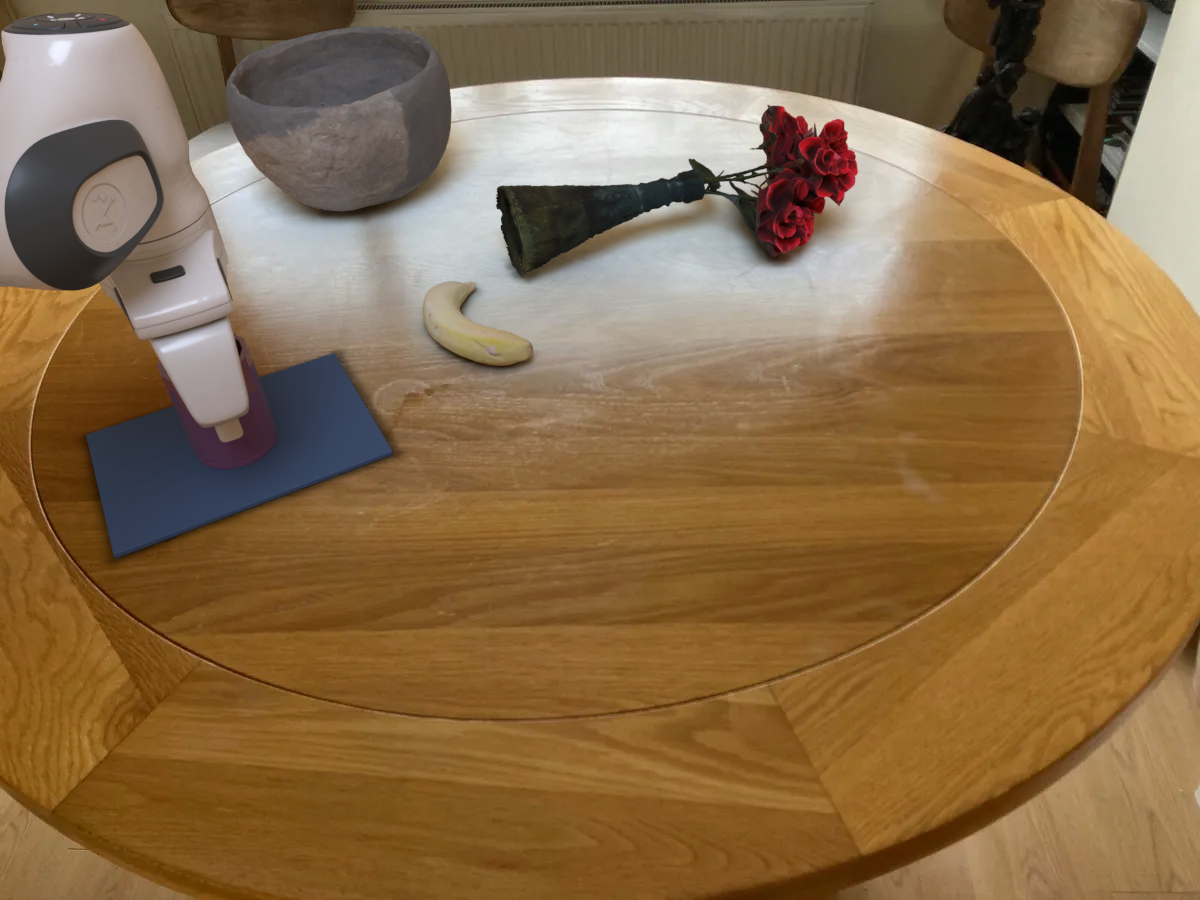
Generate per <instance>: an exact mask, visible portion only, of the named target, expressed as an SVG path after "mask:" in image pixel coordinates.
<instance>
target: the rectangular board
mask: <svg viewBox="0 0 1200 900" xmlns="http://www.w3.org/2000/svg"><path fill="white" fill-rule="evenodd" d="M259 379H260V382H261V385H262V388H263V390H264V393H265V396H266V399H267V402H268V405H269V407H270V410H271V413H272V416H273V419H274V421H275V424H276V428H277V432H278V436H277V440H276V443H275V445H274V446H273V448H272V449H271V450H270V451H269V452H268V453H267V454H266V455H265V456H263V457H262V458H260V459H259V460H257V461H255V462H253V463H251V464H249V465H246V466H243V467H239V468H234V469H214V468H210V467H208V466H206V465H204V464H203V463H201V462H200V461H199V460H198V458H197V456H196V455H195V452H194V450H193V448H192V446H191V443H190V441H189V439H188V436H187V434H186V432H185V430H184V427H183V425H182V423H181V421H180V418H179V416H178V414H177V412H176V409H175V407H174V405H172V406H169V407H165V408H163V409H160V410H157V411H153V412H150V413H148V414H144V415H142V416H139V417H136V418H133V419H130V420H126V421H124V422H120V423H118V424H114V425H111V426H107V427H106V428H102V429H99V430H96V431H93V432H90V433H87V434H85V437H86V441H87V446H88V449H89V454H90V458H91V463H92V467H93V472H94V476H95V480H96V485H97V489H98V490H97V491H98V494H99V497H100V502H101V507H102V511H103V515H104V520H105V524H106V529H107V532H108V537H109V541H110V546H111V550H112V555H113V557H114V559H118V558H121V557H124V556H127V555H130V554H132V553H135V552H138V551H140V550H143V549H146V548H148V547H150V546H153V545H156V544H159V543H162V542H164V541H167V540H169V539H173V538H175V537H178V536H180V535H184V534H185V533H188V532H191V531H194V530H197V529H199V528H201V527H204V526H206V525H210V524H213V523H215V522H217V521H220V520H222V519H225V518H228V517H231V516H233V515H236V514H238V513H242V512H244V511H247V510H249V509H250V510H251V509H252V508H255V507H257V506H260V505H263V504H266V503H268V502H272V501H273V500H276V499H278V498H279V499H280V498H282V497H284V496H287V495H290V494H292V493H294V492H297V491H300V490H303V489H305V488H308V487H311V486H313V485H316V484H318V483H319V484H320V483H321V482H324V481H327V480H329V479H331V478H334V477H337V476H340V475H343V474H346V473H348V472H352V471H353V470H354V471H355V470H356V469H358V468H359V469H360V468H362V467H364V466H367V465H369V464H372V463H375V462H378V461H380V460H382V459H386V458H388V457H390V456H394V450H393V449H392V448H391V446H390V444H389V442H388V441H387V439H386V437H385V436H384V435H383V434H384V433H382V431H381V429H380V427H379V426H378V424H377V422H376V420H375V419H374V418H373V416H372V414H371V412H370V410H369V408H368V407H367V404H366V403H365V402H364V401H363V399H362V397H361V395H360V393H359V392H358V390H357V389H356V387H355V385H354V383H353V382H352V380H351V379H350V376H349V375H348V374H347V371H346V370H345V368H344V366H343V365H342V363H341V362H340V360H339V358H338V357H337V355H336V353H335V352H332V353H329V354H326V355H323V356H320V357H317V358H314V359H311V360H309V361H305V362H302V363H299V364H296V365H293V366H289V367H286V368H284V369H281V370H278V371H275V372H272V373H268V374H266V375H263V376H259Z"/></svg>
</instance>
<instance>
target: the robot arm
mask: <svg viewBox="0 0 1200 900" xmlns="http://www.w3.org/2000/svg"><path fill="white" fill-rule="evenodd" d="M0 36H1V44H2V49H3V53H4V58H5V61H4V67H3V72H2V75H1V78H0V288H19V289H25V290H26V289H28V290H38V291H53V292H65V291H67V292H68V291H69V292H72V291H73V292H74V291H75V292H76V291H81V290H86V289H89V288H91V287H93V286H96V285H98V284H99V286H100V288H101V290H102V292H103V293H104V295H105V296H107V297H108V298H110V299H111V300H112V301H113V302H114V303H115V304H116V305H117V306H118V307H119V308H120V309H121V310H122V311H123V313H124V315H125V316H126V318H127V320H128V321H129V324H130V326H131V328H132V330H133V331H134V333H135V334H136V337H137V339H139V340H140V341H147V340H148V342H149V344H150V346H151V348H152V349H153V351H154V353H155V355H156V356H157V358H158V361H159V360H160V362H161V364H162V366H163V367H164V369H165V371H166V373H167V374H168V376H169V378H170V380H171V381H172V383H173V385H174V387H175V388H176V390H177V392H178V394H179V395H180V397H181V399H182V400H183V402H184V404H185V406H186V407H187V409H188V411H189V412H190V414H191V415H192V417H193V418H194V420H195V421H196V422H197V423H198V424H199V425H200V426H201V427H203V428H209V427H213V426H214V427H215V430H216V432H217V434H218V437H219V439H220V441H222V442H229V441H232V440H235V439H238V438H240V437H242V435H243V430H242V427H241V424H240V422H239V419H238V418H240V417H242V416H244V415H246V414H247V413H248V411H249V398H248V392H247V388H246V383H245V379H244V375H243V371H242V366H241V362H240V358H239V354H238V350H237V346H236V342H235V338H234V334H233V333H234V331H233V327H232V323H231V319H230V315H232V314H234V312H235V311H236V307H235V304H234V299H233V297H232V293H231V290H230V288H229V283H228V263H229V255H228V252H227V249H226V246H225V243H224V240H223V238H222V237H223V236H222V235H221V231H220V228H219V226H218V223H217V219H216V217H215V215H214V212H213V208H212V206H211V202H210V200H209V197H208V194H207V192H206V189H205V188H204V187H203V184H202V183H200V181H199V180H198V178H197V177H196V175H195V173H194V170H193V168H192V165H191V161H190V143H189V138H188V135H187V133H186V129H185V126H184V123H183V121H182V117H181V115H180V112H179V110H178V106H177V104H176V101H175V99H174V97H173V94H172V92H171V89H170V86H169V84H168V82H167V80H166V77H165V75H164V73H163V70H162V68H161V66H160V64H159V62H158V60H157V58H156V56H155V55H154V52H153V50H152V49H151V47H150V46H149V44H148V42H147V41H146V39H145V37H144V36H143V35H142V33H141V32H140V31H139V29H138V28H137V27H136V26H135V25H134V24H133V23H132V22H130V21H128V20H126V19H123V18H121V17H120V16H117V15H113V14H110V13H109V14H107V13H100V12H70V11H69V12H64V13H54V12H51V13H44V14H38V15H30V16H26V17H22V18H19V19H17V20H14V21H12V22H11V23H10V24H8V25H6V26H4V28H3V29H2V30H1V34H0Z"/></svg>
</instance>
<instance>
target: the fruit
mask: <svg viewBox="0 0 1200 900" xmlns="http://www.w3.org/2000/svg"><path fill="white" fill-rule="evenodd" d="M476 289H477V286H476V283H475V281H467V282H461V281H454V280H451V281H450V280H449V281H444V282H441V283H438V284H435V285H433V286H431V287H430V288H429V289H428V290H427V291H426V293H425V295H424V297H423V303H422V318H423V322H424V323H423V324H424V326H425V328H426V330H427V332H428V333H429V335H430V336H431V338H432V339H433V340H435V341H436V342H437V343H438V344H439V345H440V346H442V347H443V348H445V349H447V350H448V351H450V352H452V353H454V354H456V355H458V356H459V357H462V358H465V359H468V360H470V361H473V362H476V363H480V364H484V365H490V366H503V367H504V366H509V365H513V364H516V363H519V362H524V361H527V360H528V359H530V357H531V356H532V354H533V352H534V347H533V344H532V342H531V341H530V340H528V339H526V338H524V337H522V336H519V335H517V334H515V333H513V332H511V331H506V330H503V329H499V328H498V329H497V328H493V327H489V326H486V325H483V324H481V323H478V322H476V321H474V320H471V319H469V318H468V317H467V316H465V315H464V314H462V312H461V306H462V305H463V303H464V302H465V300H466V299H467V297H468V296H470V294H471V293H472V292H474V291H475V290H476Z"/></svg>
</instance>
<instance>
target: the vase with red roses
mask: <svg viewBox="0 0 1200 900" xmlns="http://www.w3.org/2000/svg"><path fill="white" fill-rule="evenodd" d="M766 107H767V109H766V110H764V112H763V113H762V116H761V118H760V119H761V123H760V124H759V126H758V127H759V131H760V133H761V134H762V143H761V144H759V145H758V147H751V148H749V150H752V151H754V150H759V151H761V150H762V151H763V153H764V154H765V156H766V160H765V163H764V164H762V165H759V166H756V167H754V168H750V169H747V170H743V171H739V172H734V173H730V174H729V173H728V174H724V172H725V169H723V170H722V171H721V172H720V173H719V174H718V175H717V176H716V175H715V174H714V172H713V170H712V169H710V168H709V167H707V166H705V164H703V163H701V162H699V161H697V159H695V158H688V163H689V165H690V167H691V169H690V170H684V171H680V172H678V173H677V174H676V175H674V176H673V177H670V178H664V177H660V178H659V179H656V180H652V181H649V182H639V183H638V184H632V183H624V184H623V183H622V184H609V185H608V184H604V185H600V184H597V185H594V184H591V185H582V184H581V185H580V184H578V185H575V184H570V185H569V184H560V185H547V184H546V185H531V184H522V185H520V184H519V185H518V184H517V185H504V184H502V185H499V186H497V187H496V194H495V200H496V204H495V208H496V210H499V211H500V212H501V217H500V222H501V223H500V232H501V233H502V237H503V240H504V243H505V244H506V247H505V249H507V250H506V251H507V256H508V257H509V261H510V263H511V266H512V267H513V268H515V270H516V273H517V274H518V275H519V276H520V275H521V276H522V275H523V276H525V275H526V276H527V275H528V273H530V272H532V271H534V270H537V269H538V268H542V267H543V266H545V265H547V264H548V263H549V262H551V261H552V260H553V259H555V258H557V257H559V256H561V255H562V254H565V253H566V254H567V253H569V252H570V251H571V250H574V249H575V248H577V247H579V246H581V245H583V244H584V243H586V242H587V241H588V240H590V239H593V238H595V236H598V235H602V234H604V233H605V232H606V231H609V230H611V229H613V228H614V227H618V226H619V225H622V224H623V223H628V222H630V221H632V220H633V219H634V218H638V217H639V216H640V215H643V214H645V213H650V212H651V211H652V210H657V209H660V208H663V207H664V206H665V207H668V208H669V207H670V206H671V204H673V203H684V204H686V205H688V204H691V203H693V202H696V201H701V200H703V199H704V197H705V195H713V196H719V197H720V196H721V197H724V198H725V199H727V200H729V201H730V202H731V203H732V204H733V205H734V206H735V207H736V209H737V210H738V212H739V213H740V214H741V217H742V219H743V220H744V223H745V225H746V226H747V228H748V230H749V232H750V233H751V234H752V235H753V236H754V237H753V238H755V239H756V241H758V243H759V245H760V246H761V247H762V248H763V249H764V250H765V251H766V253H767V254H768V256H769V257H770V258H776V257H777V256H778V255H777V254H781V253H782V254H786V253H787V252H790V251H794V249H796V248H797V247H804V246H805V245H807V243H808V242H809V241H810V240H811V238H812V236H813V235H814V233H815V218H816V217H815V215H822V213H823V211H824V210H825V205H826V198H829V199H830V200H831V201H832V202H834V204H836V205H837V206H838V207H841V204H842V203H843V201H844V199H845V194H846V193H847V192H849V191H850V190H851V189H852V188H853V187H854V186H855V185H856V176H857V175H858V173H859V169H858V162H857V160H856V158H857V156H856V154H855V151H853V150H852V149H849V145H848V143H847V141H848V138H849V137H848V134H849V132H848V131H847V130H846V129H845V126H846V125H845V124H846V123H845V121H844V120H843V119H841V118H835V119H832V120H831V121H828V122H826V123H825V124H824V125H823V127H822V129H821V131H820V133H819V134H818V132H817V127H816V126H817V125H816V122H814V124H813V126H812V127H810V128H809V124H808V122H807V120H806V119H805V117H804V116H803V115H798V116H797V115H796V117H794V116H793V115H792V114H791V113H789V112H788V111H787V110H786V107H785V106H783V105H770V104H767V106H766ZM765 169H766V171H763V172H758V171H761V170H765ZM762 176H764V177H765V180H764V181H763V182H762V183H761V184H760V185H758V183H757V184H756V183H752V182H749V181H747V180H750V179H755V178H757V177H762ZM721 182H728V183H729V185H730V187H731V188H732V189H733V190H734V191H735V193H736V194H735V193H727V192H724V191H720V188H721V187H722V184H721ZM734 182H738V183H741V184H744V185H746V184H748V185H750V186H753V187H755V188H756V189H758V190H757V191H758V192H757V191H755V190H753V189H750V192H751V193H752V194H754V196H753V195H751V194H749V193H747V192H746V191H745V190H743V189H742V188H739V187H738V186H736V185H735V183H734ZM765 184H766V186H765V187H763V186H764V185H765ZM705 185H707V186H705ZM762 187H763V188H762ZM750 203H752V204H753V205H756V209H755V208H754V207H753V205H751V204H750Z"/></svg>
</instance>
